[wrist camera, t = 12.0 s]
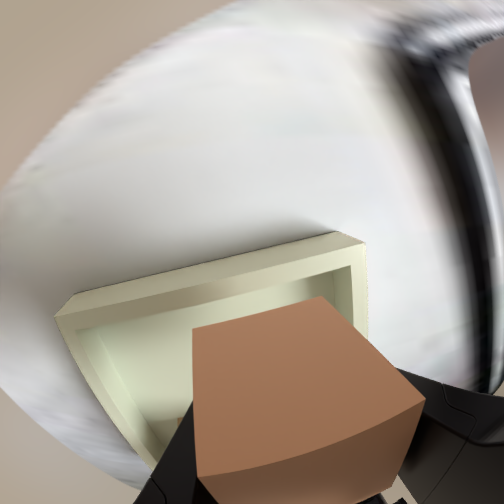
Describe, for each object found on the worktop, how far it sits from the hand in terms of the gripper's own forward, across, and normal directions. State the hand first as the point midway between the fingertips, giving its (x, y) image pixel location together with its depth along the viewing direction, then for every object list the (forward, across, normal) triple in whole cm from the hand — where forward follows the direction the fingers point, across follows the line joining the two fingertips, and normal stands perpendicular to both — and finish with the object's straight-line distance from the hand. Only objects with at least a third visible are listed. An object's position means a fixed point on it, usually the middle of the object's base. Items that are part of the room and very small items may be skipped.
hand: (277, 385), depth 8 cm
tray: (+6, +2, +4) cm, 8 cm away
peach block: (+1, 0, 0) cm, 1 cm away
